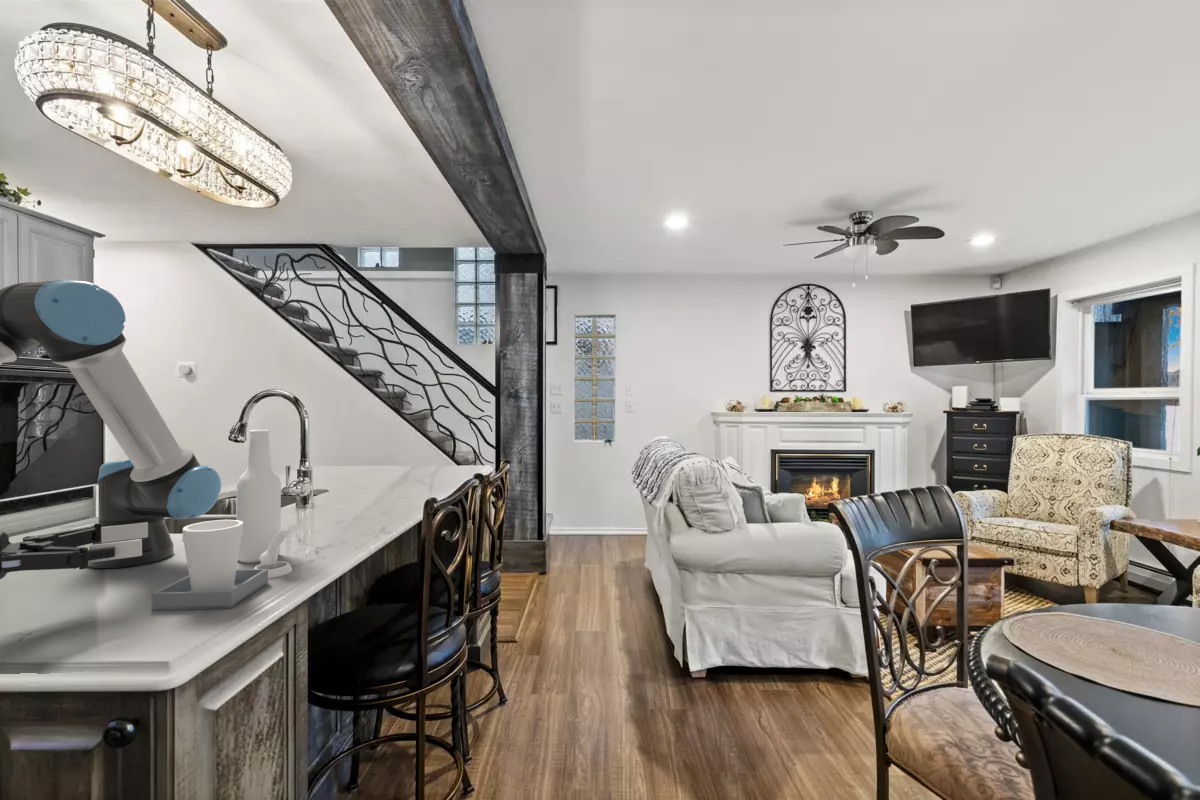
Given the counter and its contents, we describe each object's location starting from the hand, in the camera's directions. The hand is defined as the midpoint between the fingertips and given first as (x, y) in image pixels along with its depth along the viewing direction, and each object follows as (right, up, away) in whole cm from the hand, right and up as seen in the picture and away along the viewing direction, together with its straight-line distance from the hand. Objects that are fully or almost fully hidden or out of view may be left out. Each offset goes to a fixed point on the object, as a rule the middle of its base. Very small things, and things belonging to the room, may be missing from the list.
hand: (145, 537), depth 99 cm
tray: (+8, -13, +6) cm, 16 cm away
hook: (+10, -13, +21) cm, 26 cm away
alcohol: (+1, -13, +31) cm, 33 cm away
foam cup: (+8, -12, +6) cm, 16 cm away
